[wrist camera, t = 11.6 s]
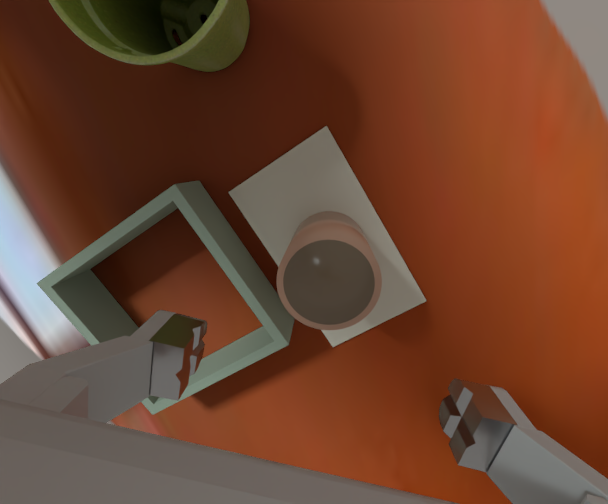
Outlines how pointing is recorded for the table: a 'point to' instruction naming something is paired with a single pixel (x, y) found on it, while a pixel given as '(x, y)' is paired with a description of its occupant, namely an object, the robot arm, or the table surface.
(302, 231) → the seedling pot
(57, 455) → the robot arm
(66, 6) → the plant pot
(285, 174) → the mat
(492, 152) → the table surface
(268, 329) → the frame
